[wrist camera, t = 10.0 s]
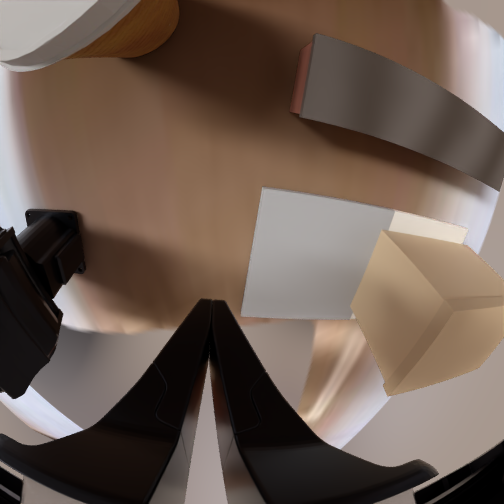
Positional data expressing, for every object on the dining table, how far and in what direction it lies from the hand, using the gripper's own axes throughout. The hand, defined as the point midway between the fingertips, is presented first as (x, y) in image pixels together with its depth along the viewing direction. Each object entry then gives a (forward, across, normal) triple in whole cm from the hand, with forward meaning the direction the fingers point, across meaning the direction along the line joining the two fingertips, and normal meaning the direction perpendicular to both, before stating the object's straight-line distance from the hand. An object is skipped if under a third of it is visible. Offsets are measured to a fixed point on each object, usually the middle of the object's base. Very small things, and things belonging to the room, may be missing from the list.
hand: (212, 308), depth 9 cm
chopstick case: (+13, -14, -9) cm, 21 cm away
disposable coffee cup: (+13, +8, -13) cm, 20 cm away
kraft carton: (+13, -21, +6) cm, 25 cm away
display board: (+13, -15, +6) cm, 21 cm away
